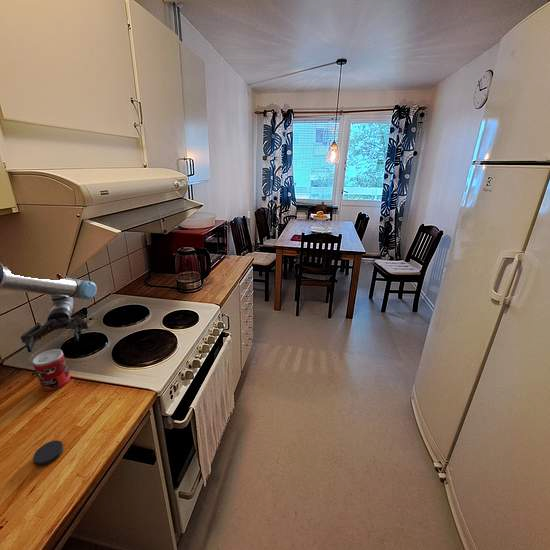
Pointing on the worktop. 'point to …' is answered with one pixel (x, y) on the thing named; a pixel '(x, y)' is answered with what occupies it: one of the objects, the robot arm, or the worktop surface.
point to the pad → (48, 453)
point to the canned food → (51, 369)
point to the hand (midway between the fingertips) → (53, 343)
